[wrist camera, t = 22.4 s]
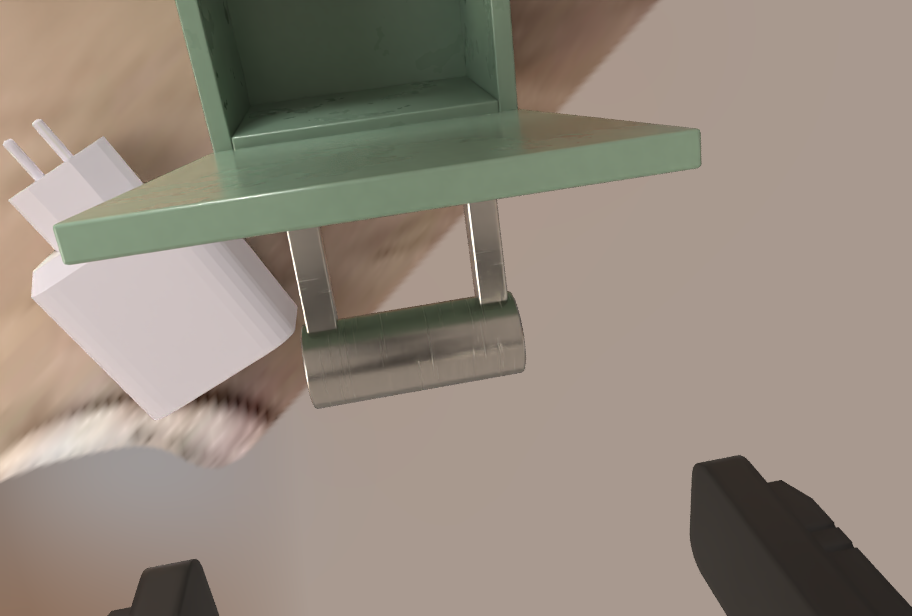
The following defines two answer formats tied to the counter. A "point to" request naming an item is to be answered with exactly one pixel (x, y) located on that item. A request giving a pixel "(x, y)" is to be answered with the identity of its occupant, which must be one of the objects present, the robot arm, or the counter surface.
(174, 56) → the counter surface
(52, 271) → the charger
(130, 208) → the lid
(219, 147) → the bin
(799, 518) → the robot arm
